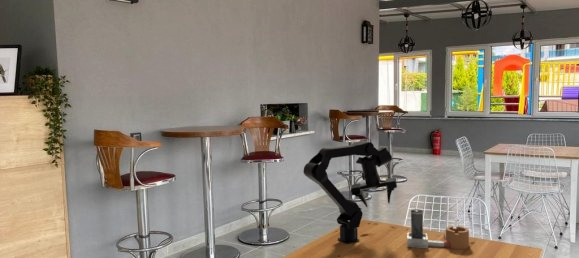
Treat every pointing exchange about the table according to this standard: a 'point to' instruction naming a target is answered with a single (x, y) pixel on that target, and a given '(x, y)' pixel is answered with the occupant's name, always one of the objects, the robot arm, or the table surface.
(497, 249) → the table surface
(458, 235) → the bracket
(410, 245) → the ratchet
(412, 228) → the dark metal cylinder
